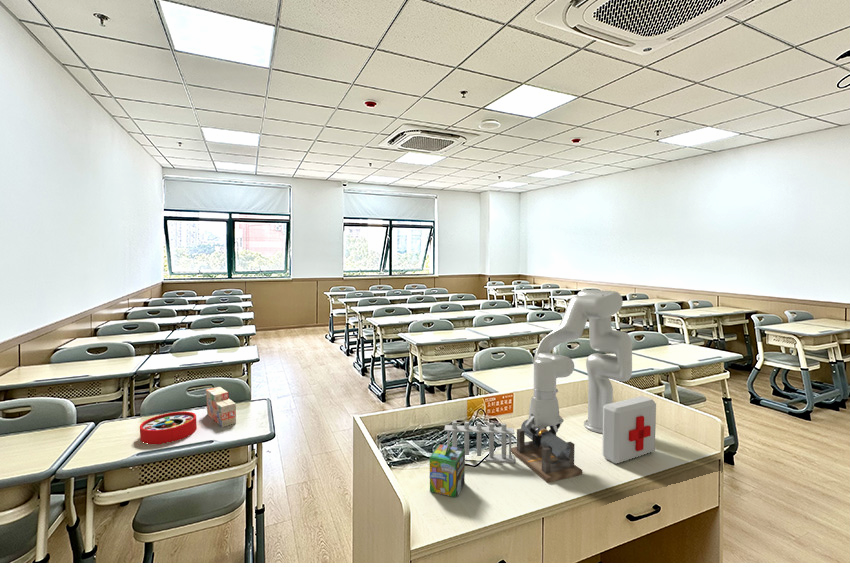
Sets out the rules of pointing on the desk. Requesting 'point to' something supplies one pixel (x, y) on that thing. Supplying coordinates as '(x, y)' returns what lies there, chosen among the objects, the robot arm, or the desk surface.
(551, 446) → the grey cylinder
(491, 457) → the test tube rack
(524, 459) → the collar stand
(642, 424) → the bevelled white case
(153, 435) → the toy clock
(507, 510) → the desk surface
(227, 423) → the stack of blocks
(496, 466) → the desk surface
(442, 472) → the chalk box
